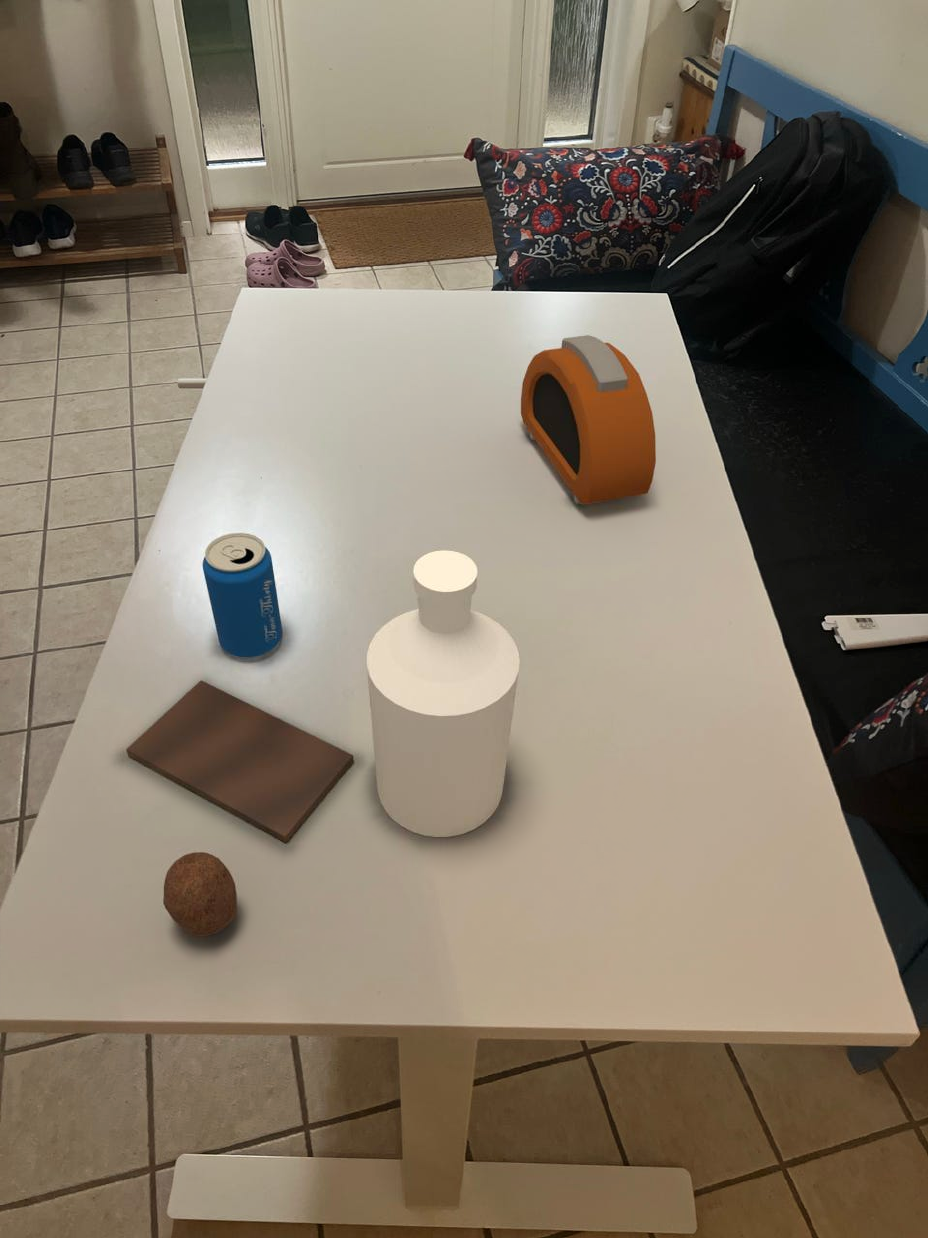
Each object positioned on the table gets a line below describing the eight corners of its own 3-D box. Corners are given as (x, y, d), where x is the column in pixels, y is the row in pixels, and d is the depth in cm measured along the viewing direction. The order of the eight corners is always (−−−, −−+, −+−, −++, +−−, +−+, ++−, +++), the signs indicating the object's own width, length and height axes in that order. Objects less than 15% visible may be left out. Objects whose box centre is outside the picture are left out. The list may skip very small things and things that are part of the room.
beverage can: (254, 672, 89) (237, 581, 81) (206, 647, 91) (185, 556, 83) (296, 634, 93) (284, 545, 85) (249, 611, 95) (232, 522, 87)
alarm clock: (516, 425, 125) (525, 310, 114) (574, 416, 127) (589, 303, 116) (583, 522, 109) (602, 400, 98) (649, 510, 111) (674, 389, 100)
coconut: (255, 922, 70) (240, 867, 64) (197, 964, 67) (177, 910, 62) (220, 877, 72) (203, 821, 67) (163, 915, 70) (141, 860, 64)
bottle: (427, 712, 86) (428, 501, 69) (530, 771, 81) (560, 560, 64) (346, 794, 79) (326, 581, 62) (455, 864, 74) (466, 654, 57)
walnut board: (128, 756, 81) (125, 749, 80) (202, 686, 87) (201, 679, 87) (286, 843, 75) (285, 837, 74) (354, 761, 81) (353, 755, 81)
